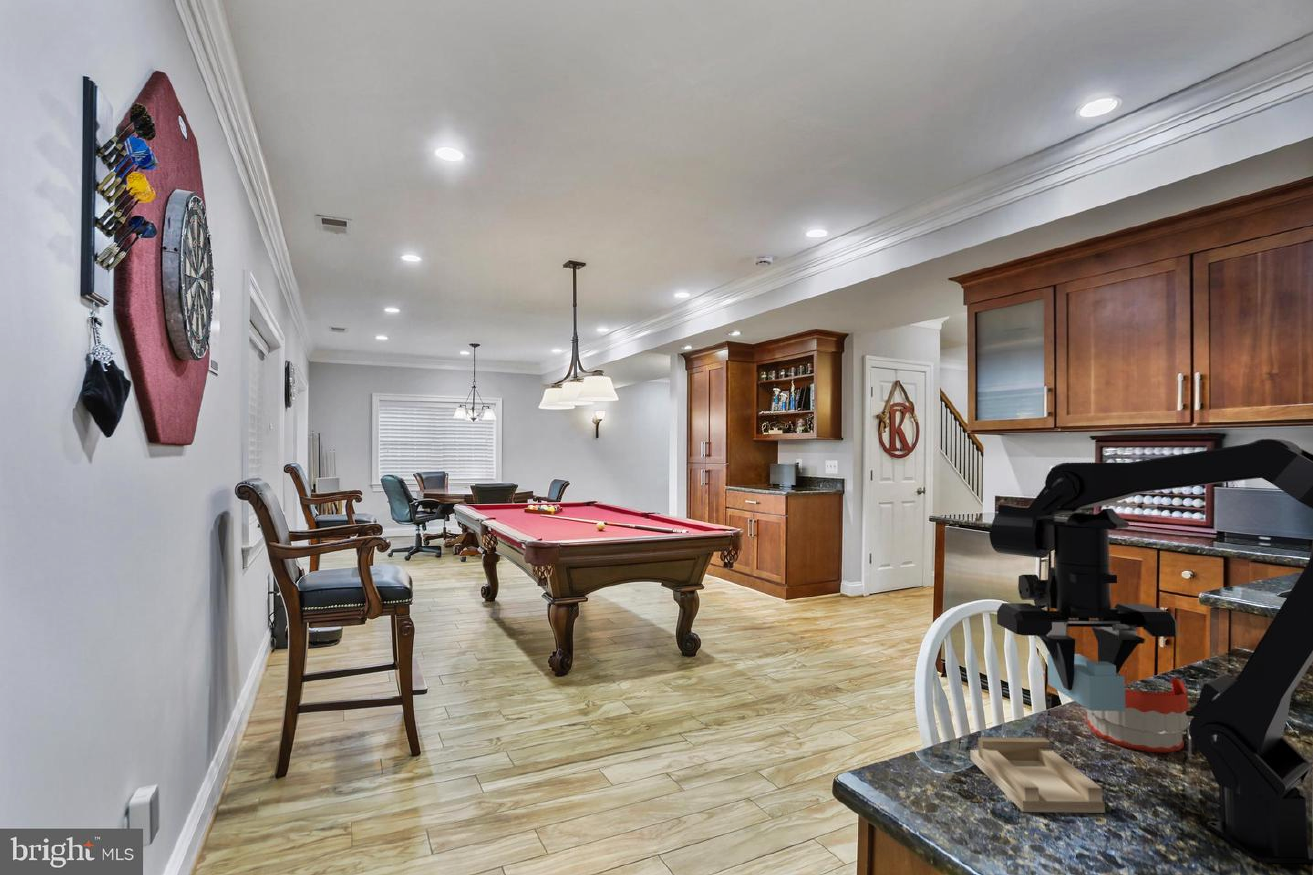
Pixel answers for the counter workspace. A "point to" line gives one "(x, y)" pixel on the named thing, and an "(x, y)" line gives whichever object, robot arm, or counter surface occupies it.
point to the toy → (1145, 720)
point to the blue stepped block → (1092, 684)
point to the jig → (1036, 776)
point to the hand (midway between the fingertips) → (1085, 689)
